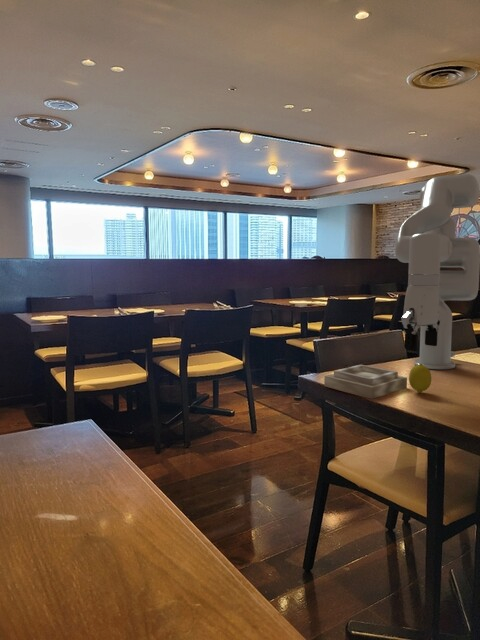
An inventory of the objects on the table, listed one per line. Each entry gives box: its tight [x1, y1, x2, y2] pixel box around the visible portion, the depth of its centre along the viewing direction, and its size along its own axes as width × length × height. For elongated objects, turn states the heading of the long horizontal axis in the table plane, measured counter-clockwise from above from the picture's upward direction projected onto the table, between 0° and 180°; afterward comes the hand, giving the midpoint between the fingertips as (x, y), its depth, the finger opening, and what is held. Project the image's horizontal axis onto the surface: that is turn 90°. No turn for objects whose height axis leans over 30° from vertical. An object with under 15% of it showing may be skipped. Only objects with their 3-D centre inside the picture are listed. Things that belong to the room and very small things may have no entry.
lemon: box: [408, 364, 432, 394], centre depth 122 cm, size 6×6×8 cm
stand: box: [323, 364, 408, 400], centre depth 129 cm, size 16×16×4 cm
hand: (420, 347), depth 120 cm, fingers open, 9 cm apart
